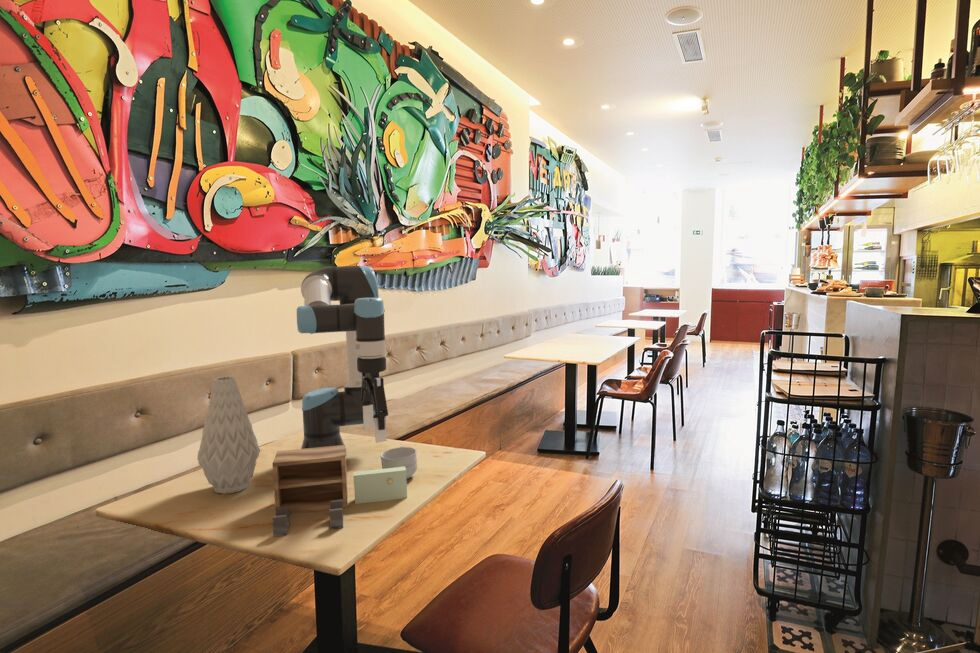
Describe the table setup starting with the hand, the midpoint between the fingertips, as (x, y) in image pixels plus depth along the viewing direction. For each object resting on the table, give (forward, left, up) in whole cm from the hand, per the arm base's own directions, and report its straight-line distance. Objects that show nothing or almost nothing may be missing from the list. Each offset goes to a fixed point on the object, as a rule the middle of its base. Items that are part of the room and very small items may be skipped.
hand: (374, 434), depth 149 cm
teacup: (-19, +8, -19) cm, 28 cm away
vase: (-23, -41, -19) cm, 51 cm away
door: (-3, +1, -19) cm, 19 cm away
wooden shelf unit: (+2, -17, -19) cm, 25 cm away
